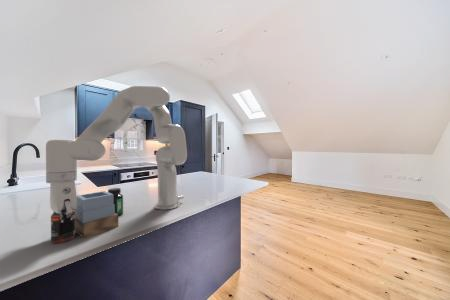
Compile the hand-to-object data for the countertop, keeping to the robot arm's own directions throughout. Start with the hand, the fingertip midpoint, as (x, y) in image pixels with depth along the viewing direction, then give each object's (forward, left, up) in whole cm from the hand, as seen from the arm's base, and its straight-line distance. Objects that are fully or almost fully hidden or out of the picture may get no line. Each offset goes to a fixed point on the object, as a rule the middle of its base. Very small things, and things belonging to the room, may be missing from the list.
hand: (62, 230), depth 59 cm
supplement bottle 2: (-20, -9, -3) cm, 22 cm away
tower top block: (-10, -1, +1) cm, 10 cm away
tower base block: (-10, -1, -4) cm, 11 cm away
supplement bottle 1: (0, 0, -3) cm, 3 cm away
